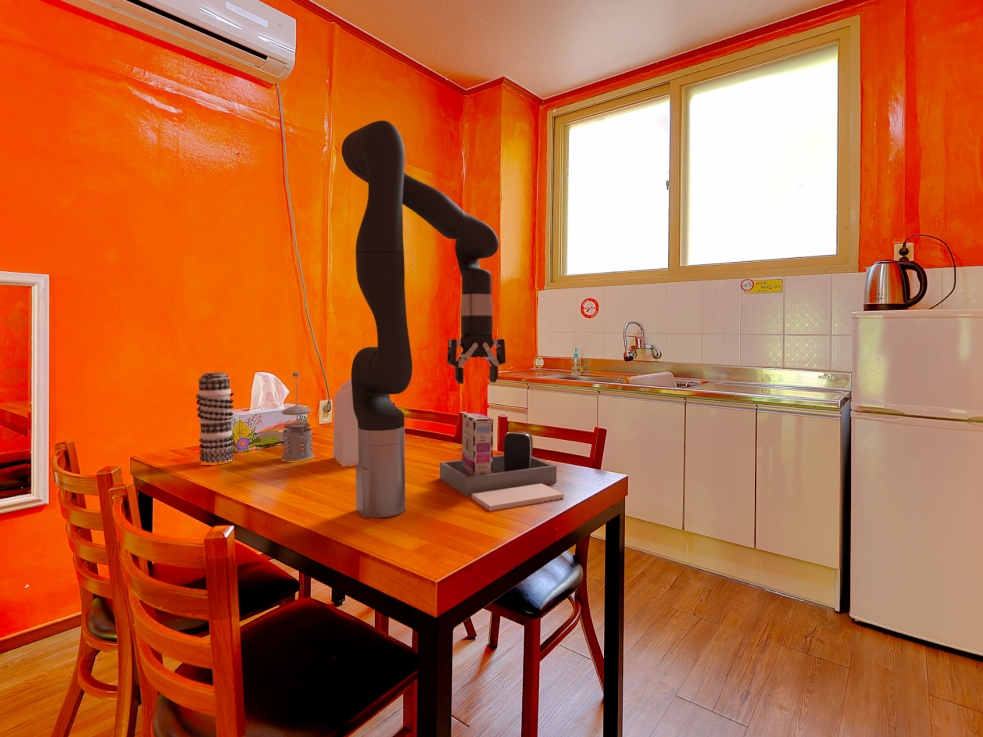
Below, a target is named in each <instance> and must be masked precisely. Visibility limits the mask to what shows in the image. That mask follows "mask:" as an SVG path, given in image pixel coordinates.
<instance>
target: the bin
mask: <svg viewBox="0 0 983 737" xmlns="http://www.w3.org/2000/svg"><path fill="white" fill-rule="evenodd" d="M492 465H493V468H492V474H485V475H478V476H470V477H468V476H466V475H464V474H463V473H462V459H459V460H458V459H457V460H450V461H449V460H447V461H442V462H439V479H440V480H442V481H443V482H444V483H447V485H449V486H451V487H452V488H453V489H455V490H456V491H458V492H460V494H462V495H464V496H465V497H470V496H472V494H475V493H481V492H488V491H494V490H501V489H508V488H514V487H521V486H527V485H534V484H541V483H542V484H544V485H548V484H547V483H549V484H554V483H553V482H556V483H557V473H558V472H557V465H556V464H553V463H550V462H548V461H545V460H542V459H540V458H537V457H535V456H533V455H531V468H530V469H522V470H515V471H507V472H504V454H501V455H493V464H492Z"/></svg>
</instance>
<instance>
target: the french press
mask: <svg viewBox="0 0 983 737" xmlns="http://www.w3.org/2000/svg"><path fill="white" fill-rule="evenodd" d="M300 376H301V375H300V373H299V372H297V371H295V372H293V373H292V377H295V402H296V403H295V405H293V406H289V407H287V408H285V409H284V410H282V411H281V414H282V415H286V416H296V422H295V423H293V422H292V423H286V424H284V425H283V427H284V428H285V429H284V430H283V431H282V437H283V438H282V442H283V444H282V445H283V454H282V455H283V456H282V457H281V458H280V459H281V460H285V461H299V460H306V459H310V458H313V457H314V455H315V454H314V453H313V440H312V438H313V436H312V433H313V432H312V431H313V430H312V428H310V427H311V423H309V422H308V419H307V417H304V421H302V420H301V418H300V417H299V415H307V414H310V413H312V410H311V408H309V407H306V406H303V405H298V381H297V380H298V377H300ZM298 417H299V418H298Z"/></svg>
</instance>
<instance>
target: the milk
mask: <svg viewBox="0 0 983 737" xmlns="http://www.w3.org/2000/svg"><path fill="white" fill-rule="evenodd" d="M333 399H334V404H333V406H334V407H333V410H334V411H333V447H332V448H333V450H332V451H333V453H332V454H333V455H332V458H333V457H334V458H335V459H336V460H337V461H338V462H340V463H341V464H342V465H343V466H350V465H356V464H357V463H358V421H357V418H356V416H355V413H354V409H353V398H352V383H351V377H350V378H349V379H348V380H346V381H345V382H343V384H342V385H341V387H340V388H339V389H338V390H337V391H336V393H335V394H334V398H333ZM334 458H333V459H334ZM335 459H334V460H335ZM336 460H335V461H336ZM337 461H336V462H337ZM338 462H337V463H338ZM350 467H351V466H350Z"/></svg>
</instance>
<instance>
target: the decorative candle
mask: <svg viewBox="0 0 983 737" xmlns="http://www.w3.org/2000/svg"><path fill="white" fill-rule="evenodd" d="M230 379H231V377H229V376H228V374H227V373H226V372H206V373H203V374H202V375H201V376H200V377H199V378H198V379H197V380H198V393H197V394H196V395H195V398H196V401H195V403H196V405H198V407H197V408H196V410H197V418H200V419H198V423H199V424H200V425H199V427H200V432H199V439H198V442H199V443H200V444H199V445H198V446H199V448H201V449H200V450H199V452H198V453H199V455H200V456H199V460H200V462H201V461H202V462H206V463H220V462H227V461H230V460H231V459H232V458H233V459H234V457H235V455H234V454H235V453H234V451H235V450H234V447H233V445H234V441H232V440H234V436H233V430H232V428H231V427H232V424H231V422H232V421H233V417H232V416H233V415H234V413H233V412H232V411H231V409H233V408H234V405H233V404H232V403H234V402H235V401H234V400H233V399H232V398H230V397H232V396H234V394H235V393H234V392H232V388H230V387H231V383H230ZM231 461H232V460H231Z"/></svg>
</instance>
